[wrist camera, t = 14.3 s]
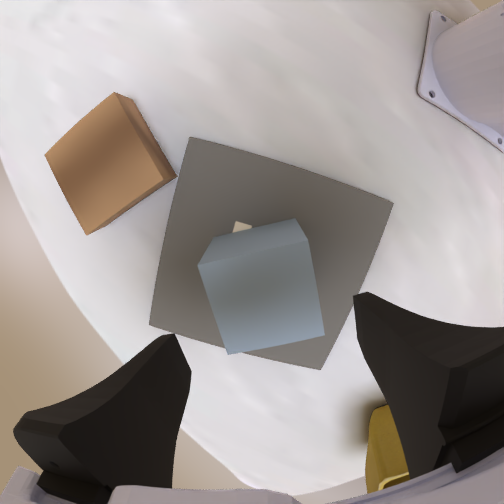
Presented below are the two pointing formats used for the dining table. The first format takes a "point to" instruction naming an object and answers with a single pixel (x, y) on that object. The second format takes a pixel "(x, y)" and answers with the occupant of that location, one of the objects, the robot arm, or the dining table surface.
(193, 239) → the letter mat
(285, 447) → the dining table surface
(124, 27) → the dining table surface
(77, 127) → the walnut block
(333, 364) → the dining table surface
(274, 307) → the blue cube
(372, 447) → the flower pot
